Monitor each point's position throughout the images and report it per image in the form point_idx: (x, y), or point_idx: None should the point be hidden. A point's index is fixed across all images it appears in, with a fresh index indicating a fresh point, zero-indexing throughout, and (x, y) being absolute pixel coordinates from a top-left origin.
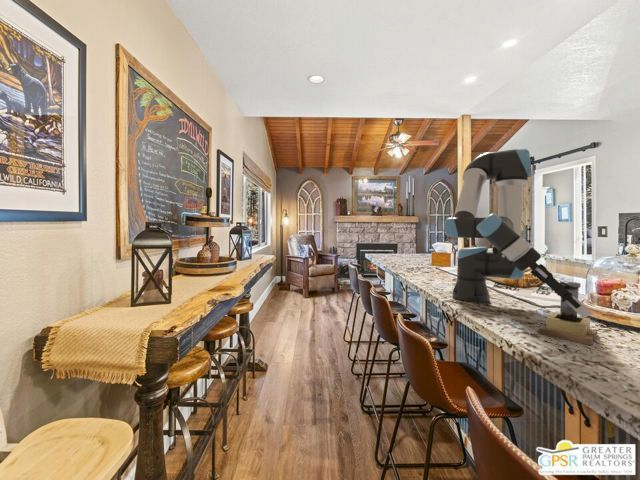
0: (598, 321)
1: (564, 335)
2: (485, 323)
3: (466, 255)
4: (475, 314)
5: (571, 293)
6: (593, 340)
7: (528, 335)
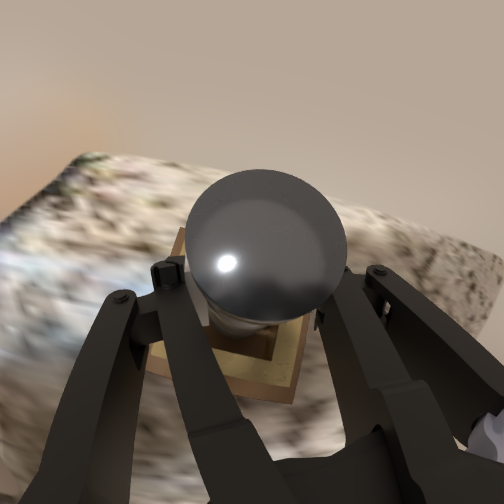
0: (23, 207)
1: (305, 329)
2: None
3: None
4: None
5: (383, 267)
6: None
7: (319, 425)
